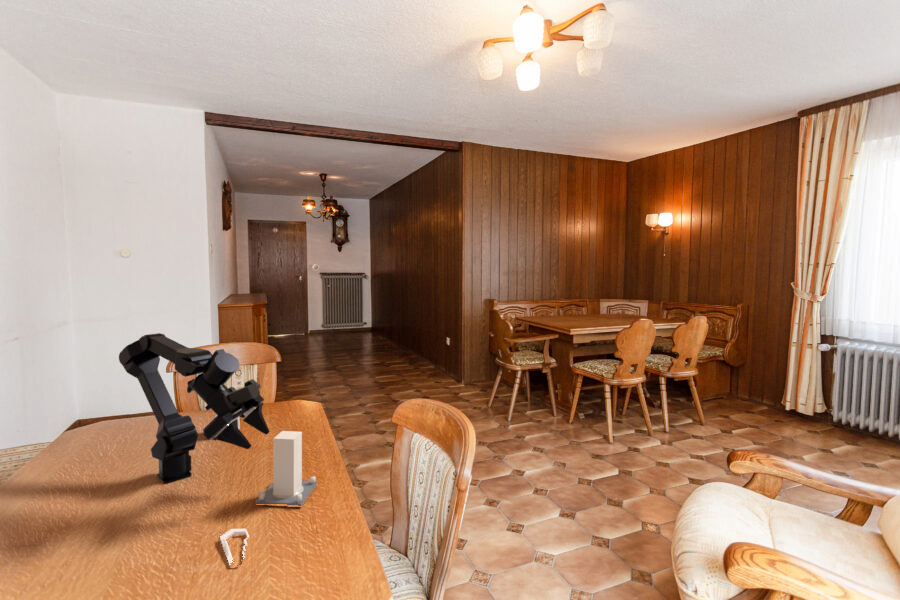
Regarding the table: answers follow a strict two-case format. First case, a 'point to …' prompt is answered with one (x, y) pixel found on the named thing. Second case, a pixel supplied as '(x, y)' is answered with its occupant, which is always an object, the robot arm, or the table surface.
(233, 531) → the white bent piece
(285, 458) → the block
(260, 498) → the locating plate
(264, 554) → the table surface
